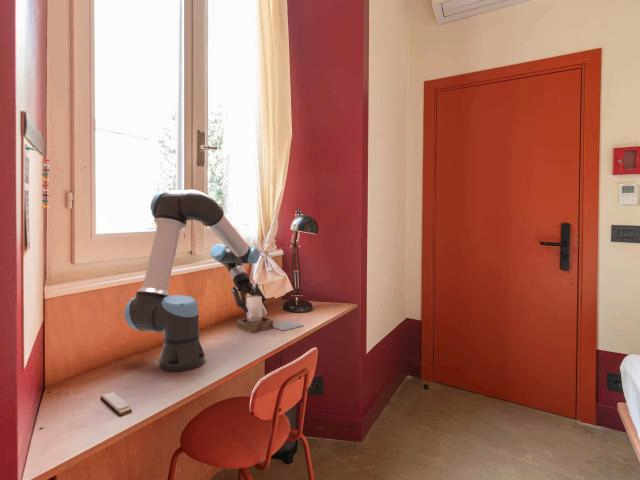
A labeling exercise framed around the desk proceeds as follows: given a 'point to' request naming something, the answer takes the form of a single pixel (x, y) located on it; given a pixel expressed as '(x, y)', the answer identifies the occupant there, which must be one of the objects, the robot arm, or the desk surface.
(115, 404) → the harmonica
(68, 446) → the desk surface
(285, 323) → the mat
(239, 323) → the holder
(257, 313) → the white rounded piece
